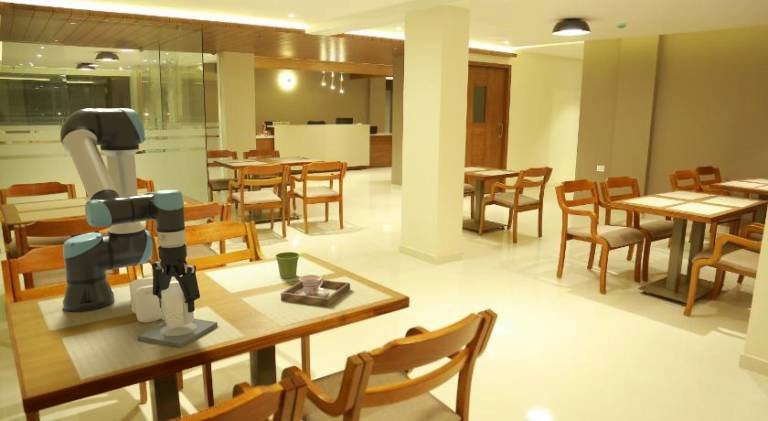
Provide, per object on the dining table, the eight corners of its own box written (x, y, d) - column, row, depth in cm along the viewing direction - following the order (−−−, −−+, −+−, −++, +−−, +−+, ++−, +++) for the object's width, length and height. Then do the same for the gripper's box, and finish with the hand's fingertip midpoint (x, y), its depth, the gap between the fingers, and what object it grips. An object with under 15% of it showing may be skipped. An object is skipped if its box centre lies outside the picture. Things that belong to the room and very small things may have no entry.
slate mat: (138, 339, 152) (137, 335, 152) (177, 319, 167) (177, 315, 166) (180, 347, 147) (180, 343, 147) (217, 325, 162) (217, 321, 161)
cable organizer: (181, 305, 179) (178, 272, 176) (188, 315, 170) (186, 280, 168) (132, 315, 171) (128, 280, 168) (137, 326, 162) (134, 289, 160)
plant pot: (305, 275, 211) (304, 254, 209) (289, 281, 203) (288, 259, 201) (287, 271, 216) (286, 250, 214) (270, 277, 208) (270, 256, 206)
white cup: (182, 329, 152) (180, 295, 150) (157, 326, 153) (154, 293, 151) (197, 318, 159) (195, 286, 157) (173, 316, 161) (171, 284, 159)
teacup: (304, 303, 181) (303, 285, 180) (288, 293, 190) (287, 277, 189) (334, 295, 188) (334, 279, 187) (317, 286, 198) (317, 270, 196)
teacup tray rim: (281, 300, 184) (280, 293, 183) (306, 284, 200) (305, 277, 200) (328, 306, 177) (328, 299, 177) (350, 289, 194) (350, 282, 194)
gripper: (133, 244, 152) (140, 320, 156) (192, 250, 145) (198, 330, 149) (153, 238, 159) (159, 311, 163) (210, 244, 152) (215, 320, 156)
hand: (178, 320), depth 156 cm, fingers closed on white cup, 8 cm apart
